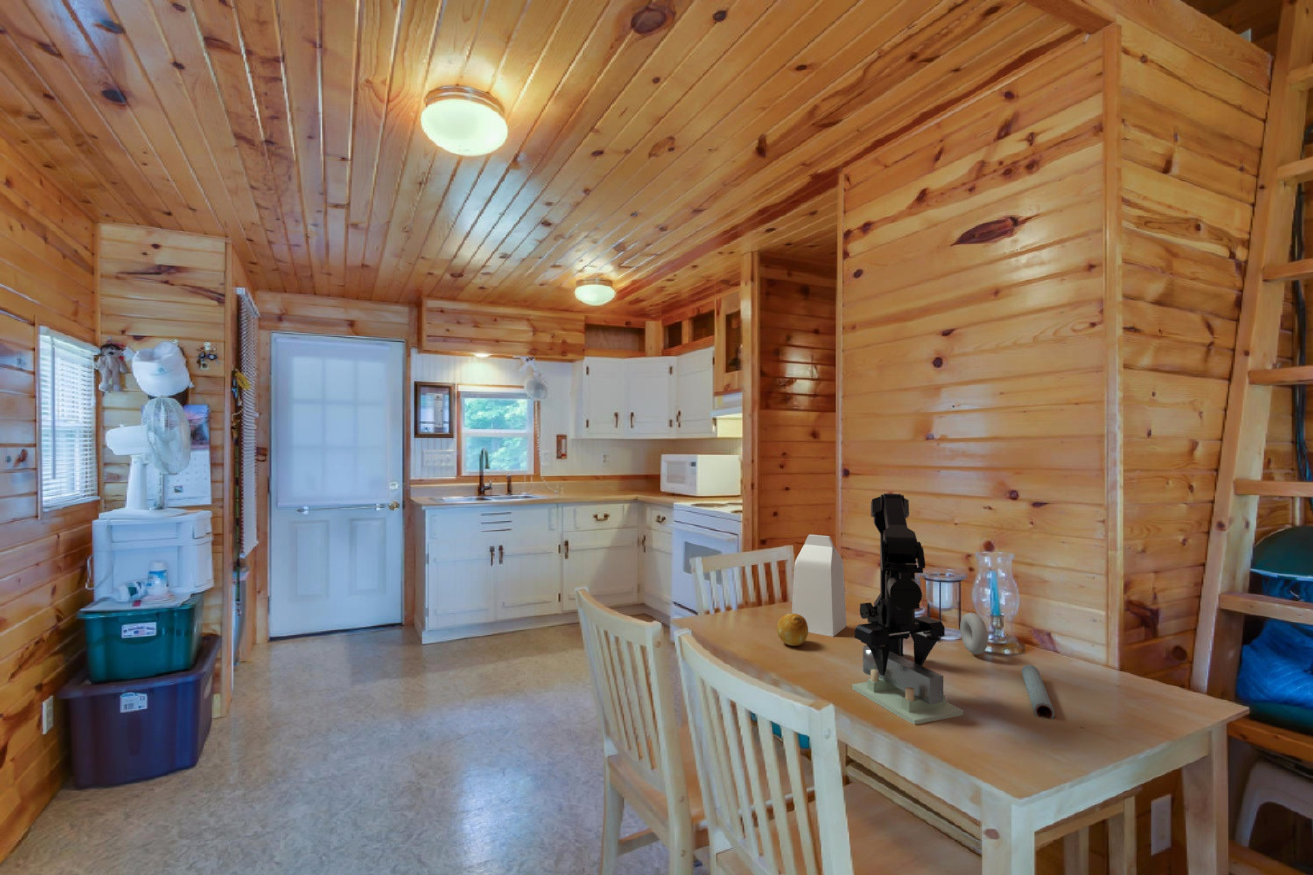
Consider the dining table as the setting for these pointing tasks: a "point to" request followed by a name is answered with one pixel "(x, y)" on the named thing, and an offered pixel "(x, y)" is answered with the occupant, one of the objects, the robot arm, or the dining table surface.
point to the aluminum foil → (1037, 691)
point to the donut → (974, 633)
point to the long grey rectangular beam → (908, 676)
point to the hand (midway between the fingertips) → (899, 671)
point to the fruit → (792, 629)
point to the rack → (904, 701)
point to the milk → (820, 586)
